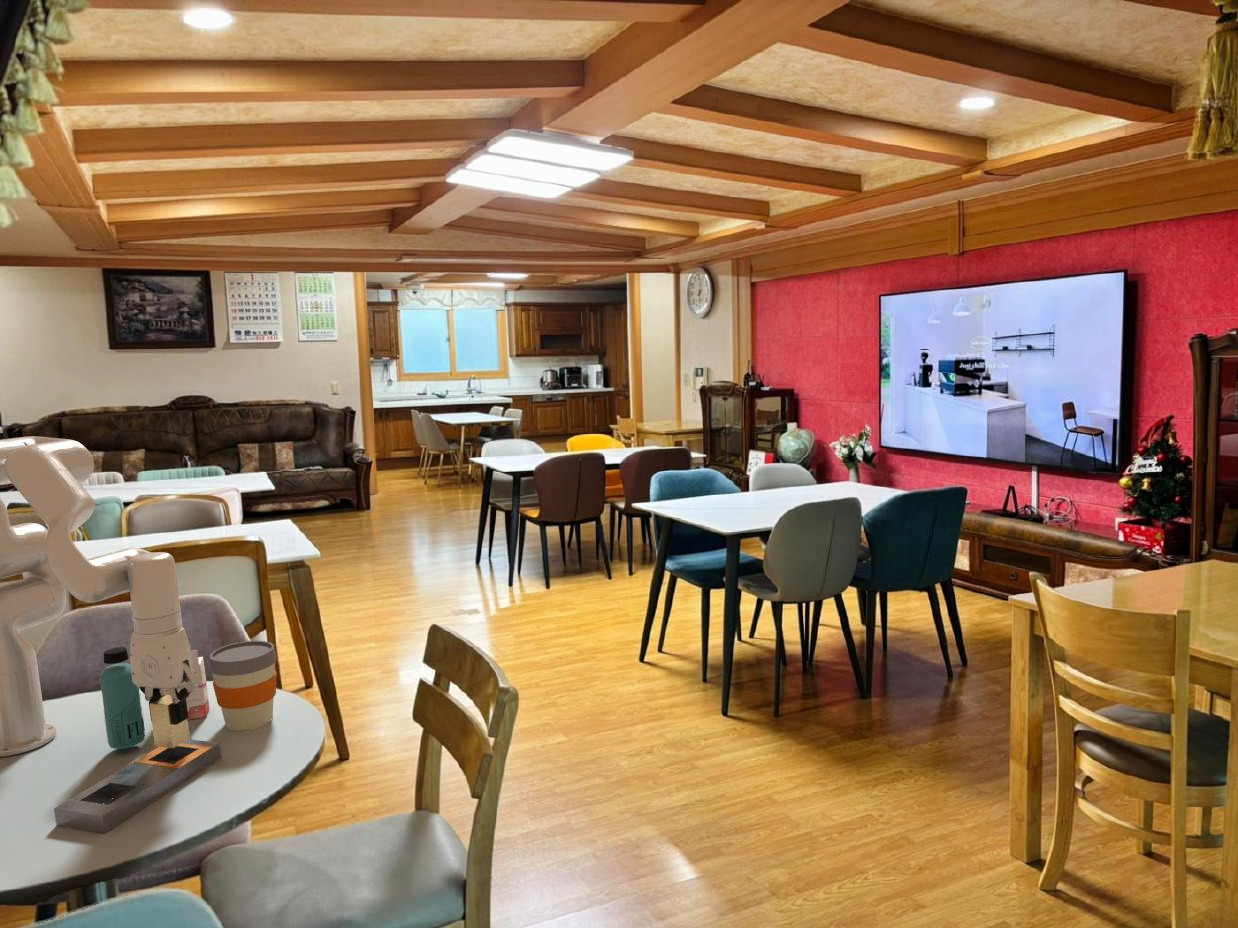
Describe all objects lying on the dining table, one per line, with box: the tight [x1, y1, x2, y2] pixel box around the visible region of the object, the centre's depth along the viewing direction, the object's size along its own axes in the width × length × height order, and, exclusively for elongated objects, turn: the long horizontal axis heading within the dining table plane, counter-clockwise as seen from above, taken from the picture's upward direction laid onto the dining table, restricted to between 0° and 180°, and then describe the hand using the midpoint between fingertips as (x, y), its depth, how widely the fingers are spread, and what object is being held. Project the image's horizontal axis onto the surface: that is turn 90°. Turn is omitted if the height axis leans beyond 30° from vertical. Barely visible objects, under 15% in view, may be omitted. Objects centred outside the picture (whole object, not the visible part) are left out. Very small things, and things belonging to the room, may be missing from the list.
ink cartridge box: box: [161, 649, 211, 721], centre depth 185 cm, size 9×5×15 cm, turn 106°
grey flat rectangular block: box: [53, 738, 222, 835], centre depth 156 cm, size 10×26×3 cm, turn 163°
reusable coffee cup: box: [209, 640, 278, 732], centre depth 182 cm, size 13×13×15 cm
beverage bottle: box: [99, 646, 146, 750], centre depth 171 cm, size 6×7×20 cm
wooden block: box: [149, 695, 191, 748], centre depth 161 cm, size 4×4×8 cm
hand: (169, 719), depth 161 cm, fingers closed on wooden block, 4 cm apart
